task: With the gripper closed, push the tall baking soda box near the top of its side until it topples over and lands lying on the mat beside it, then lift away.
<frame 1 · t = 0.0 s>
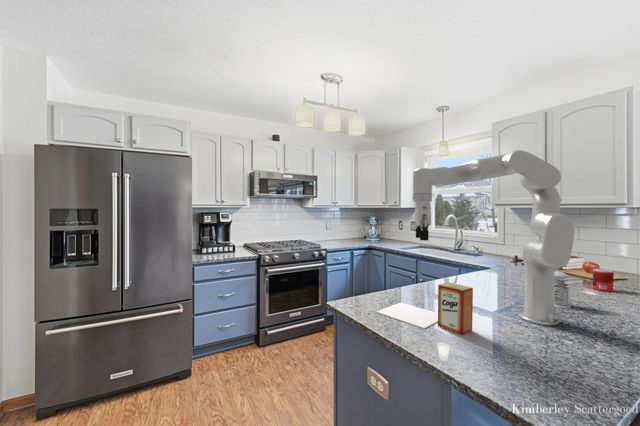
hand: (421, 239, 122), 31 cm above the table, tool pointing down, fingers open, 9 cm apart
french press: (554, 304, 135), on the table
baking soda box: (454, 329, 108), on the table
canned food: (602, 290, 158), on the table
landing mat: (411, 314, 121), on the table
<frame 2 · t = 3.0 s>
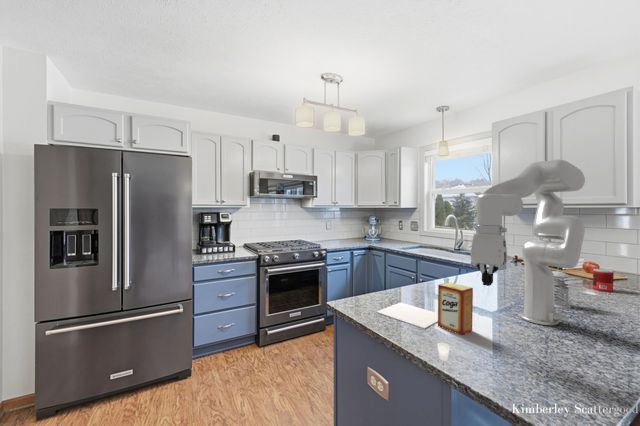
hand: (487, 284, 99), 18 cm above the table, tool pointing down, fingers closed
nothing on the table moved.
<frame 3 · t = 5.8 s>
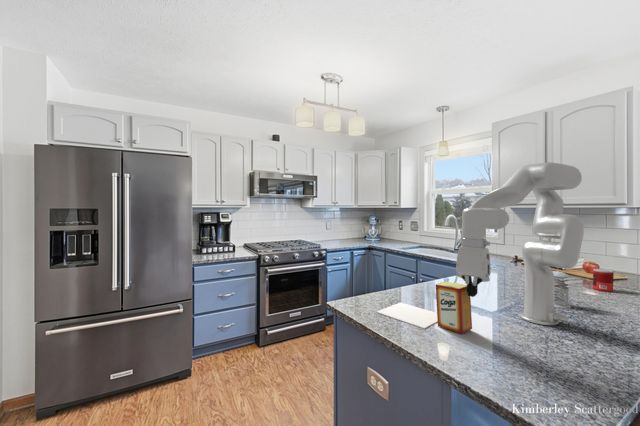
hand: (471, 295, 102), 14 cm above the table, tool pointing down, fingers closed
baking soda box: (454, 328, 108), on the table, touching gripper
everything else where it was.
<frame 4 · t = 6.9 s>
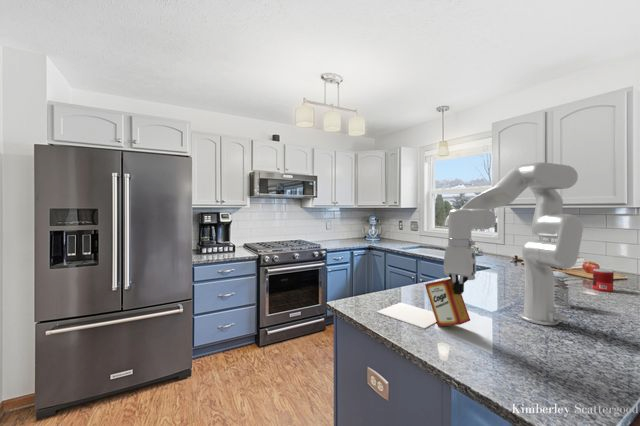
hand: (458, 293, 106), 13 cm above the table, tool pointing down, fingers closed
baking soda box: (454, 323, 108), point 2 cm above the table
everything else where it was.
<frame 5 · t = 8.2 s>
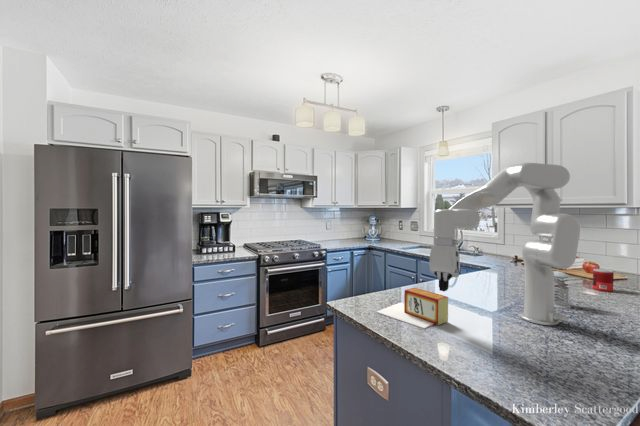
hand: (443, 290, 111), 13 cm above the table, tool pointing down, fingers closed
baking soda box: (443, 310, 111), point 5 cm above the table, touching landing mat
everything else where it was.
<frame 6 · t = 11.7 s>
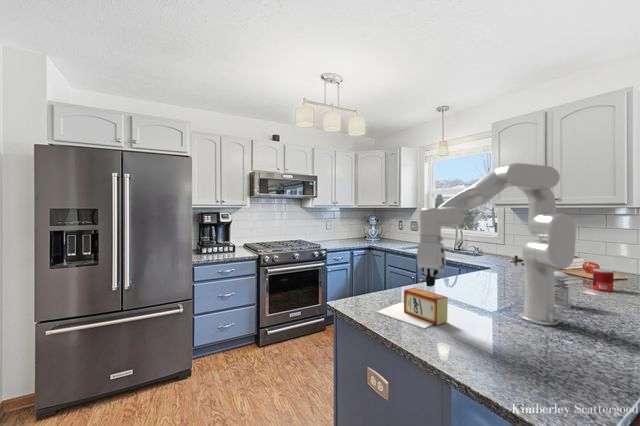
hand: (430, 285, 115), 14 cm above the table, tool pointing down, fingers closed
nothing on the table moved.
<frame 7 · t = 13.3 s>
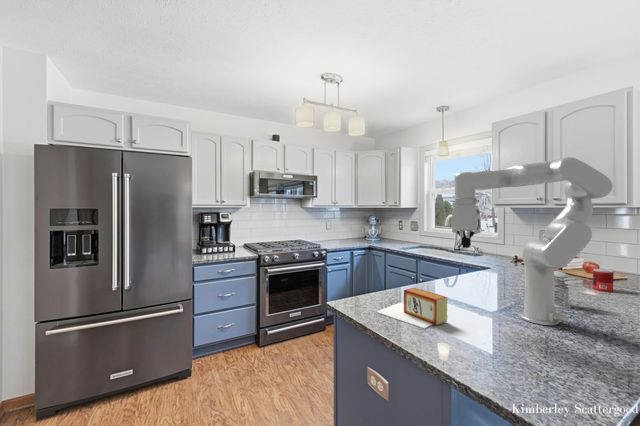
hand: (466, 247, 120), 28 cm above the table, tool pointing down, fingers closed
nothing on the table moved.
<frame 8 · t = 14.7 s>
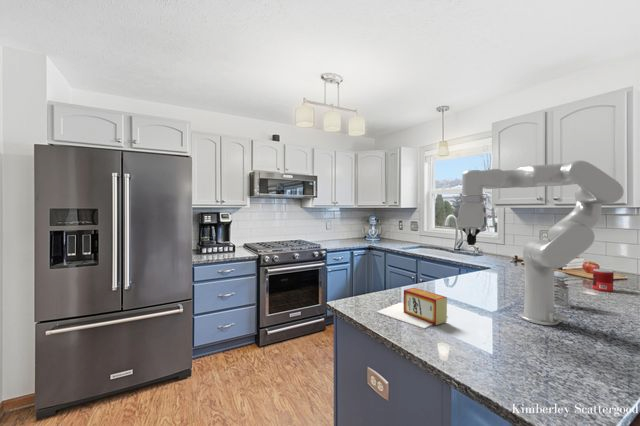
hand: (471, 244, 121), 29 cm above the table, tool pointing down, fingers closed
nothing on the table moved.
at the end: baking soda box tilted 90°; baking soda box touching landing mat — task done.
